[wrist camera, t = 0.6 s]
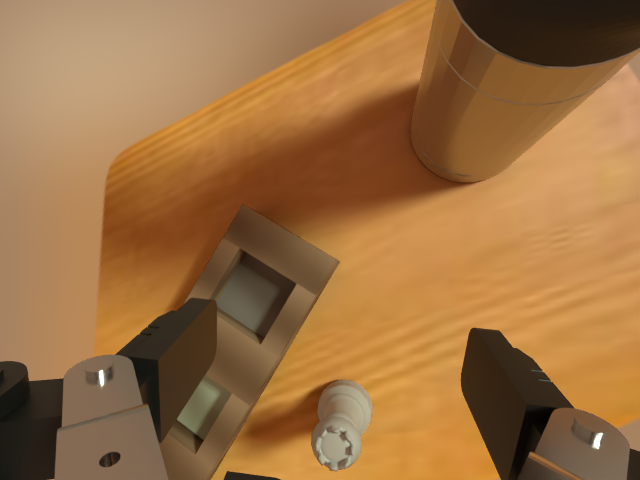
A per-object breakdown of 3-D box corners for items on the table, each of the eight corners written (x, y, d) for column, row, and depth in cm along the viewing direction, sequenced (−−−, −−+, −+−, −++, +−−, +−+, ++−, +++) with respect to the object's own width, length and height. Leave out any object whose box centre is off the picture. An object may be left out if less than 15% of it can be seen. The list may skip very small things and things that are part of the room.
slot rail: (254, 210, 34) (242, 204, 31) (340, 261, 32) (336, 259, 29) (129, 420, 34) (105, 434, 31) (208, 482, 32) (191, 503, 29)
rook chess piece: (313, 423, 31) (290, 473, 23) (326, 371, 31) (309, 402, 23) (365, 441, 30) (360, 499, 22) (378, 387, 30) (378, 425, 23)
